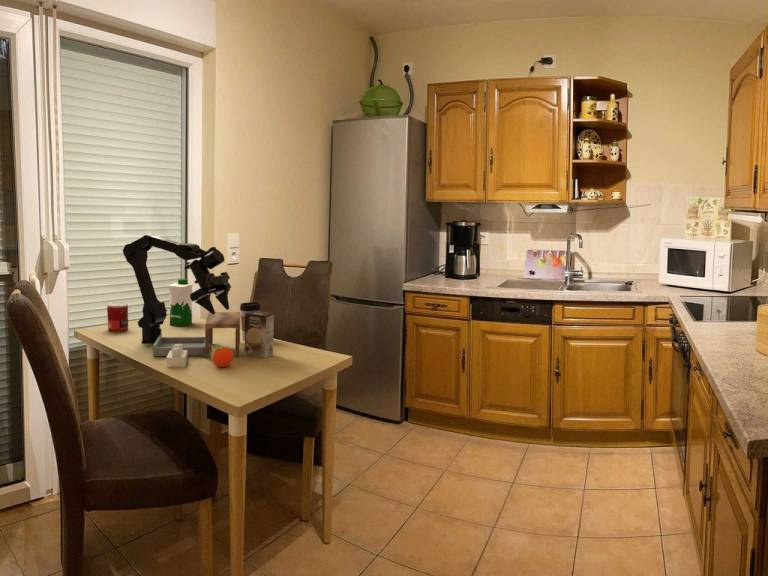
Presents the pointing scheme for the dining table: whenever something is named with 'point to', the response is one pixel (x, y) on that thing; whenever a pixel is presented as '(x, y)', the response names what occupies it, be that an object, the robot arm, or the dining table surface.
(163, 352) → the drawer
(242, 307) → the black lidded jar
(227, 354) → the clementine
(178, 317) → the milk carton
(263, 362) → the dining table surface
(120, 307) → the canned food
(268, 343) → the coffee box
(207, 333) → the wooden stand
